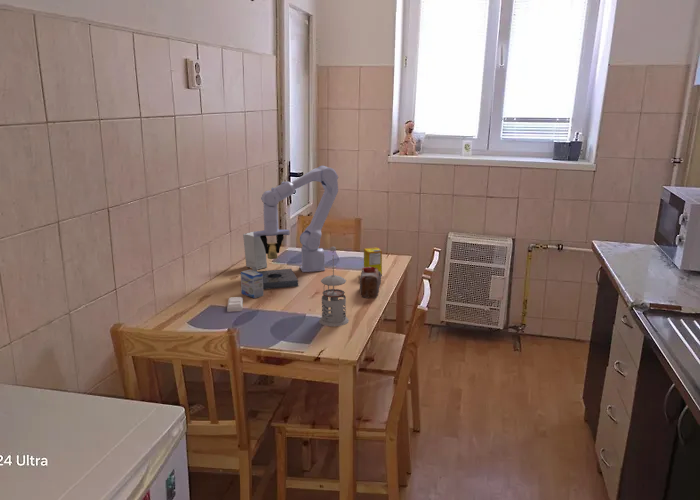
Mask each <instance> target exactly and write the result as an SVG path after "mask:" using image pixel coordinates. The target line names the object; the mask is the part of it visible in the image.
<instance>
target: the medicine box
mask: <svg viewBox="0 0 700 500" xmlns="http://www.w3.org/2000/svg"><path fill="white" fill-rule="evenodd" d="M240 287H241V290H240V293H241V294H242V295H244V296H247V297H249V298H253V299H256V298H257V299H258V298H261V297H264V289H263V274H261V273H258V272H255V271H252V269H246V270H243V271H240Z"/></svg>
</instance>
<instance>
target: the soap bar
mask: <svg viewBox="0 0 700 500" xmlns="http://www.w3.org/2000/svg"><path fill="white" fill-rule="evenodd" d="M243 299H244V298H243V297H242V296H235V297H234V296H233V297H232V296H231V297H230V296H229V298H228V301H227V307H226V308H227V309H226V310H227V312H228V313H229V312H242V311H243V307H244V306H243V304H244V300H243Z"/></svg>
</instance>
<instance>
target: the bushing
mask: <svg viewBox="0 0 700 500" xmlns="http://www.w3.org/2000/svg"><path fill="white" fill-rule="evenodd" d="M267 249H268V254H267V259H268V260H276V259H278V253H277V242H267Z"/></svg>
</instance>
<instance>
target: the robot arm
mask: <svg viewBox="0 0 700 500" xmlns="http://www.w3.org/2000/svg"><path fill="white" fill-rule="evenodd" d="M338 179H339V176H338V173H337V172H336V170H335V169H334V168H333V167H329V166H326V165H320V166H318V167H316V168H313V169H311V170H310V171H308V172H306V173H305V174H303V175H301V176H300V177H298V178H297V179H295V180H293V181H288V180H286V181H284V180H283V181H282V182H280V184H279V185H277V186H276V187H271V188H270V189H269V190H265V191H264V192H263V194H262V195H261V197H260V200H261V201H262V203H263V225H264V228H263V229H264V230H258V231H252V232H253V235H254V237H260V238H261V240H262V242H263V244H264V247H265V252H266V255H268V249H267V243H268V238H267V237H273V236H274V237H276V243H277V254H280V250H281V245H282V243H283V241H284V236H290V233H291V232H290V229H280V228H279V211H278V210H279V209H278V204H279V202H281V201H283V200H285V199H286V198H288V197H291V196H292V195H294V194H295V190H297V189H299V188H301V187H304V186H305V185H308V184H310V183H313V182H319V183H320V184H321V186H322V187H323V190H324V191H323V194H322V196H321V198H320V201H319V203H318V204H317V207H316V210H315V212H314V214H313V216H312V218H311V221H310V224H309V225H308V226H306V227H305V230H304V231H303V232H302V233H301V234H300V235H299V242H300V244H301V245H302V246H301V266H299V268H300V270H301V271H302V273H308V272H309V273H313V272H320V271H321V272H322V271H323V272H324V271H326V269H325V268H326V266H325V251H324V248H323V247H320V245H321V238H322V229H323V227H324V224H325V222H326V220H327V218H328V216H329V213H330V211H331V208H332V207H333V204H334V202H335V199H336V197H337V195H338V192H339V186H338V185H339V184H338V183H339V182H338ZM319 247H320V248H319Z"/></svg>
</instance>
